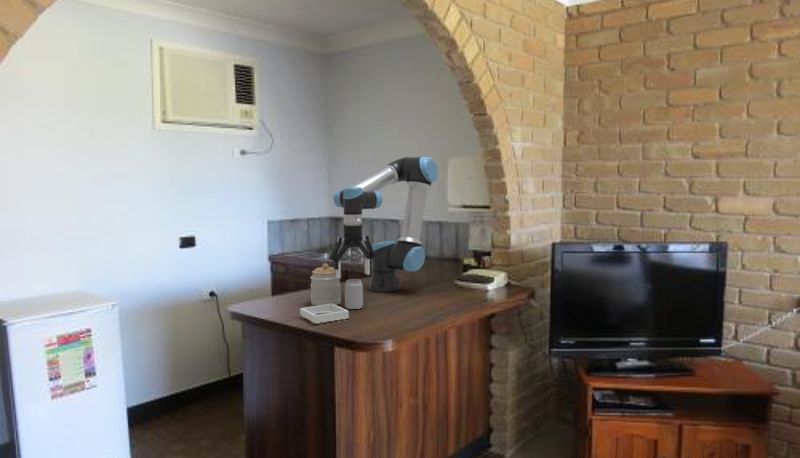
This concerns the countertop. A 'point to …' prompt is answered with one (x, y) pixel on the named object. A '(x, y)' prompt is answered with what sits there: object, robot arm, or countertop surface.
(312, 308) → the tray
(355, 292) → the can
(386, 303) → the countertop surface
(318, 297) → the jar
